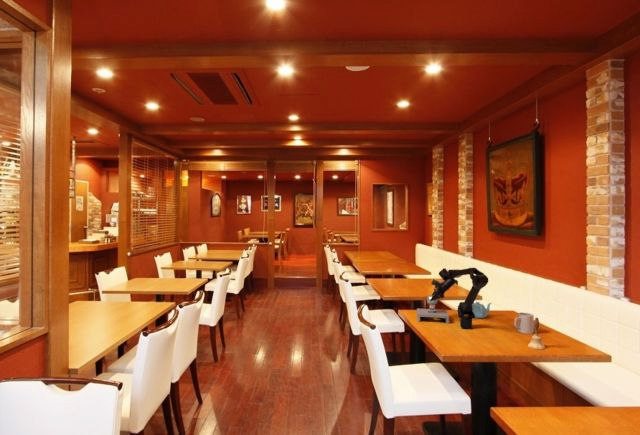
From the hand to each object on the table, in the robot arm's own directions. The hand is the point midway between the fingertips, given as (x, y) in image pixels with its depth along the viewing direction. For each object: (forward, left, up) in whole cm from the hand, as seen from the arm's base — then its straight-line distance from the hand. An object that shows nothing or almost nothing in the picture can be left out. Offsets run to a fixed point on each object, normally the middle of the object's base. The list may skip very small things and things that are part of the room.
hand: (430, 299), depth 261 cm
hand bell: (-54, +43, -14) cm, 70 cm away
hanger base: (-2, 0, -14) cm, 14 cm away
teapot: (-34, -17, -14) cm, 40 cm away
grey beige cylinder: (-1, 0, -7) cm, 7 cm away
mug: (-55, +16, -14) cm, 58 cm away
